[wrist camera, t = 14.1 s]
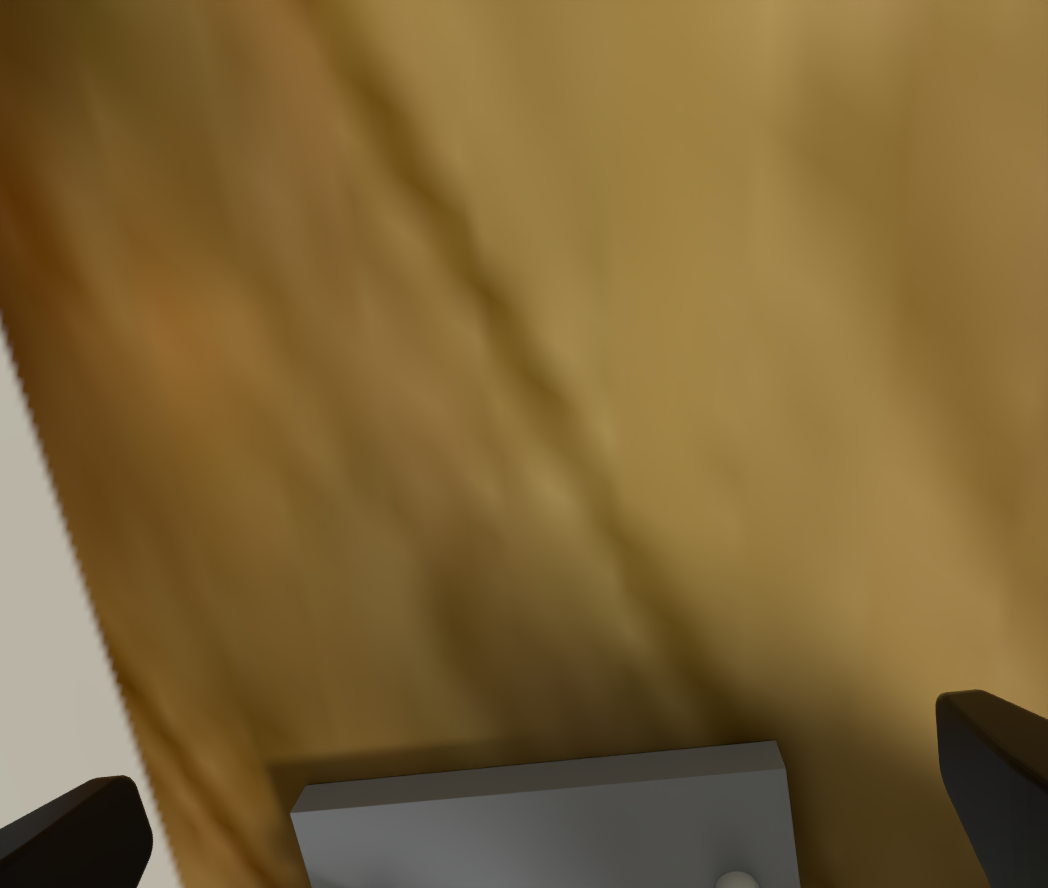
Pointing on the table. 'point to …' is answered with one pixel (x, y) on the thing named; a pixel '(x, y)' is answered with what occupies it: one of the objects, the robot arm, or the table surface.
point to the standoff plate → (560, 824)
